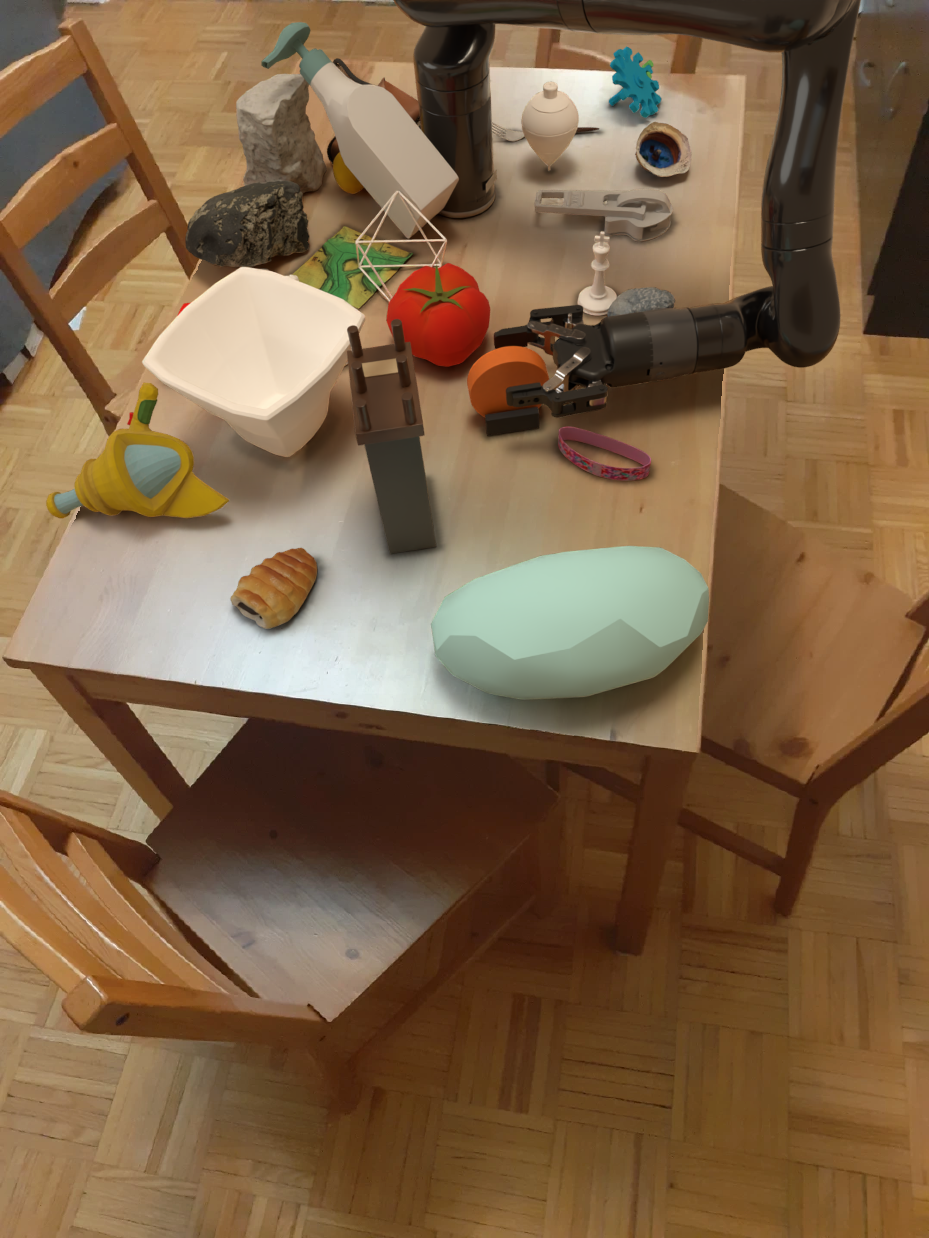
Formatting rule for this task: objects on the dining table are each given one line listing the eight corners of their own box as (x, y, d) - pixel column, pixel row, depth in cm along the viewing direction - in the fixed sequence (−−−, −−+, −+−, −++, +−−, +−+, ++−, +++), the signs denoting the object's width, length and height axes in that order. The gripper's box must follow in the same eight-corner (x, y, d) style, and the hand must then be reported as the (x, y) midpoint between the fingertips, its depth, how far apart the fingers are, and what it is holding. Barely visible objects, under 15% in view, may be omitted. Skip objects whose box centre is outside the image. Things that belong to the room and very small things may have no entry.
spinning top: (586, 163, 131) (590, 77, 120) (559, 193, 128) (561, 107, 117) (539, 148, 133) (539, 63, 123) (511, 178, 130) (509, 92, 120)
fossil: (603, 312, 116) (613, 339, 113) (601, 290, 113) (611, 318, 110) (669, 295, 115) (680, 322, 113) (669, 272, 112) (680, 299, 110)
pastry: (287, 546, 100) (279, 525, 96) (335, 574, 97) (329, 554, 94) (228, 609, 96) (218, 589, 93) (277, 640, 94) (268, 621, 90)
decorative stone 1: (284, 155, 136) (260, 52, 123) (336, 172, 133) (317, 69, 121) (242, 195, 132) (213, 94, 119) (295, 214, 129) (271, 112, 116)
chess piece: (614, 317, 114) (621, 248, 106) (574, 314, 115) (578, 245, 107) (619, 290, 117) (626, 220, 108) (580, 287, 118) (584, 217, 109)
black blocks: (531, 395, 109) (531, 379, 106) (539, 428, 106) (539, 413, 104) (480, 403, 108) (479, 387, 106) (487, 436, 106) (486, 420, 104)
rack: (412, 353, 88) (406, 316, 84) (424, 436, 82) (419, 399, 79) (349, 362, 88) (340, 325, 84) (357, 445, 82) (349, 410, 79)
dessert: (637, 115, 125) (624, 160, 130) (645, 136, 121) (631, 181, 125) (693, 126, 127) (678, 169, 131) (703, 147, 122) (687, 191, 127)
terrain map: (344, 224, 126) (344, 227, 127) (288, 276, 122) (288, 279, 122) (413, 252, 122) (413, 255, 123) (358, 307, 118) (358, 310, 118)
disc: (546, 402, 108) (547, 340, 100) (549, 417, 107) (551, 355, 99) (469, 413, 108) (464, 352, 100) (472, 429, 106) (467, 368, 98)
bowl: (302, 518, 101) (271, 430, 89) (169, 452, 107) (124, 362, 95) (397, 406, 109) (381, 312, 97) (269, 351, 115) (238, 255, 103)
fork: (599, 137, 134) (600, 124, 132) (489, 143, 135) (488, 130, 133) (598, 127, 135) (599, 113, 133) (489, 133, 136) (488, 119, 134)
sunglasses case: (380, 173, 131) (352, 130, 127) (347, 188, 136) (318, 147, 132) (432, 103, 139) (407, 60, 135) (398, 120, 144) (373, 79, 140)
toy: (-10, 440, 96) (53, 573, 100) (149, 371, 91) (211, 513, 94) (47, 431, 106) (103, 553, 109) (194, 368, 101) (249, 498, 104)
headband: (548, 459, 103) (548, 445, 102) (563, 435, 105) (563, 421, 103) (639, 491, 100) (641, 477, 98) (653, 466, 102) (655, 452, 100)
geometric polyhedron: (419, 242, 124) (418, 180, 116) (465, 290, 119) (468, 230, 111) (338, 276, 120) (332, 215, 112) (383, 327, 116) (379, 267, 108)
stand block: (426, 481, 103) (407, 359, 88) (436, 547, 98) (418, 430, 83) (381, 488, 103) (355, 367, 87) (389, 554, 98) (362, 438, 83)
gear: (647, 123, 132) (607, 58, 128) (616, 146, 136) (577, 84, 133) (675, 93, 138) (638, 31, 134) (645, 116, 142) (608, 56, 139)
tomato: (388, 314, 117) (379, 257, 110) (486, 303, 117) (483, 245, 110) (393, 387, 110) (383, 331, 103) (497, 375, 110) (495, 318, 103)
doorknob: (391, 201, 127) (400, 177, 132) (369, 143, 122) (379, 119, 127) (342, 216, 129) (352, 191, 135) (318, 159, 124) (329, 135, 129)
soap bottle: (398, 248, 125) (254, 77, 119) (442, 209, 126) (302, 37, 120) (411, 221, 114) (254, 31, 109) (459, 178, 115) (306, -13, 109)
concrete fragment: (239, 193, 130) (192, 285, 128) (206, 139, 120) (155, 238, 118) (329, 219, 126) (283, 314, 124) (303, 166, 116) (252, 268, 114)
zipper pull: (538, 200, 127) (538, 171, 123) (671, 204, 125) (676, 175, 121) (532, 237, 123) (532, 209, 120) (670, 243, 121) (674, 213, 117)
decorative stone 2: (675, 766, 88) (766, 633, 78) (423, 725, 82) (487, 573, 72) (640, 664, 99) (716, 536, 89) (416, 621, 93) (471, 477, 83)
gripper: (634, 276, 102) (488, 297, 101) (667, 367, 94) (510, 391, 94) (628, 329, 108) (491, 349, 108) (659, 419, 101) (511, 441, 100)
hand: (500, 369), depth 101 cm, fingers open, 8 cm apart
